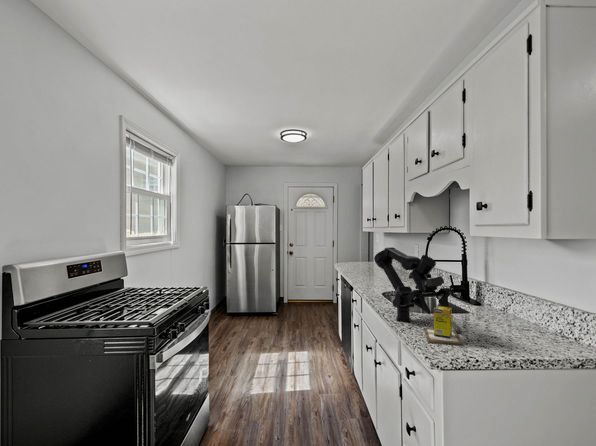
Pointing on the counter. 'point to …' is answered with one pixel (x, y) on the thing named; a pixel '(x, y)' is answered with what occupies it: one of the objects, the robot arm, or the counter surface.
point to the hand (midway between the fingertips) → (439, 312)
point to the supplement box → (443, 321)
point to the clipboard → (442, 338)
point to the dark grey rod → (456, 328)
